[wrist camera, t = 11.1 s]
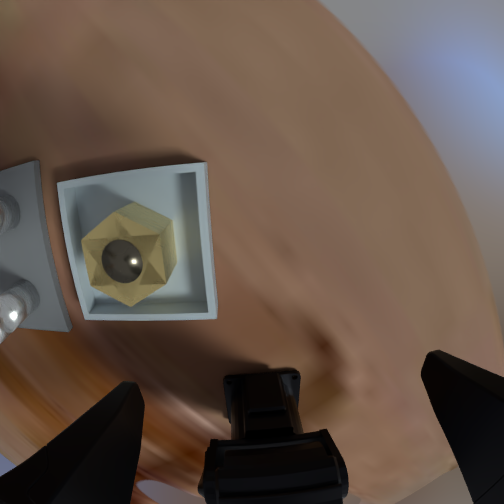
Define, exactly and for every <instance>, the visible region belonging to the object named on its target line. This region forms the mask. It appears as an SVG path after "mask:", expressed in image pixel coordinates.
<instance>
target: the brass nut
mask: <svg viewBox="0 0 504 504" xmlns="http://www.w3.org/2000/svg"><path fill="white" fill-rule="evenodd" d="M81 243H82V249H83V254H84V259H85V264H86V269H87V273H88V278H89V282H90V286H91V287H93V288H95V289H97V290H99V291H101V292H103V293H104V294H106V295H108V296H110V297H112V298H114V299H116V300H118V301H120V302H122V303H124V304H126V305H128V306H130V307H132V306H133V305H135V304H136V303H138V302H139V301H141V300H143V299H144V298H146V297H147V296H149V295H150V294H152V293H153V292H155V291H156V290H158V289H159V288H161V287H163V286H164V285H166V284H167V282H168V280H169V278H170V276H171V274H172V272H173V270H174V268H175V266H176V264H177V255H176V246H175V237H174V228H173V220H171V219H169V218H167V217H165V216H163V215H161V214H159V213H157V212H155V211H153V210H151V209H149V208H147V207H145V206H143V205H141V204H139V203H137V202H133V203H131V204H128V205H126V206H124V207H122V208H120V209H118V210H116V211H114V212H113V213H112V214H111V215H109V216H108V217H107V218H106V219H105V220H103V221H102V222H101V223H100V224H99V225H98V226H96V227H95V228H94V229H93V230H92V231H91V232H90V233H88V234H87V235H86V236H85V237H84V238H83V239H82V240H81Z"/></svg>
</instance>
